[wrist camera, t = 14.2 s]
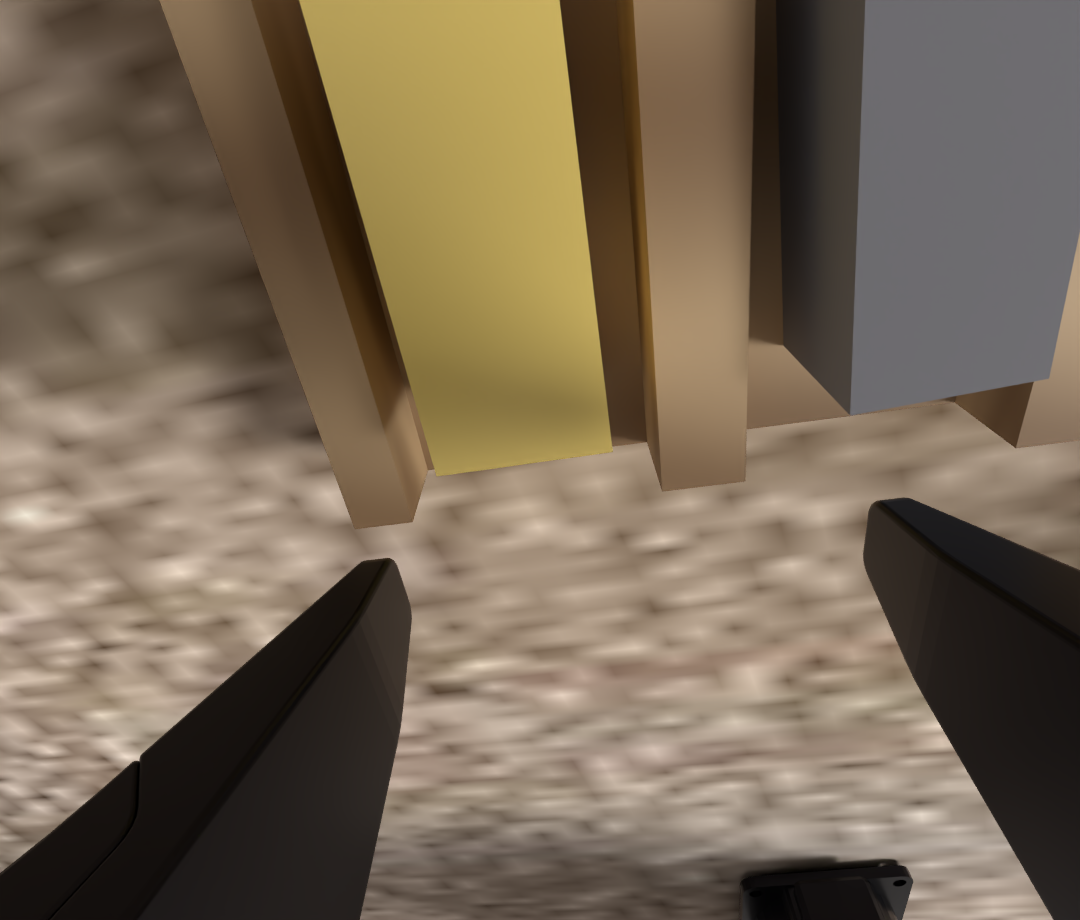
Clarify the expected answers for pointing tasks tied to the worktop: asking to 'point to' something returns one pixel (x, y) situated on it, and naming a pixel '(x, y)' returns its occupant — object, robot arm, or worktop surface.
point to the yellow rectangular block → (472, 218)
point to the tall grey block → (926, 192)
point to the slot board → (612, 230)
